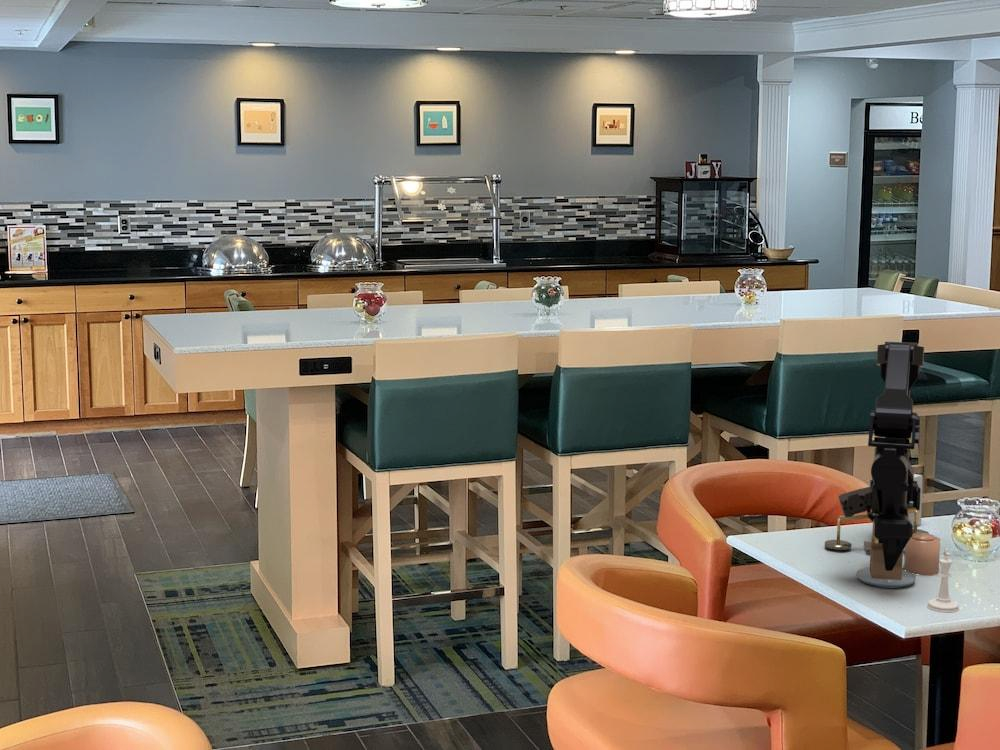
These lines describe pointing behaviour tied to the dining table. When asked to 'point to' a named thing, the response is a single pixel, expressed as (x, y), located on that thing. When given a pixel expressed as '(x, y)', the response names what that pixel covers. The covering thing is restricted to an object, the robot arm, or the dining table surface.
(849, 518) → the balance
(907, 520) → the robot arm
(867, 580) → the disc
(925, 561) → the terracotta lidded jar
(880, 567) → the walnut block
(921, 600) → the dining table surface
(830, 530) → the dining table surface
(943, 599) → the chess piece
